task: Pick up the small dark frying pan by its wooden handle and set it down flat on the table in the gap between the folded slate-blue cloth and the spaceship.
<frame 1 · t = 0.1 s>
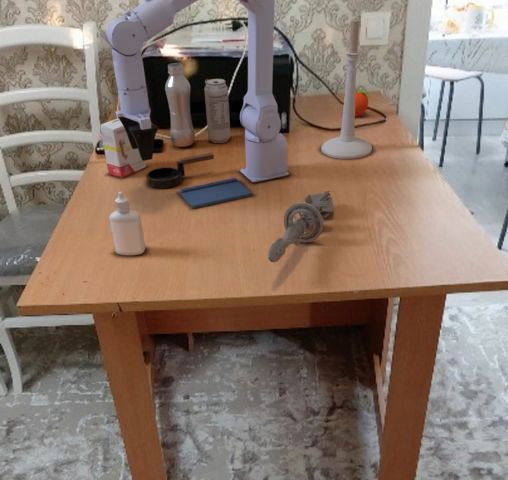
hand: (142, 153, 127), 10 cm above the table, tool pointing down, fingers open, 7 cm apart
plastic bottle: (183, 146, 159), on the table
ink box: (128, 171, 146), on the table
candlestick: (346, 150, 152), on the table
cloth: (215, 194, 133), on the table
pan: (164, 181, 140), on the table
eye dropper bottle: (131, 252, 114), on the table
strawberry: (357, 116, 173), on the table
energy drink can: (219, 140, 161), on the table
spaceship: (302, 242, 115), on the table
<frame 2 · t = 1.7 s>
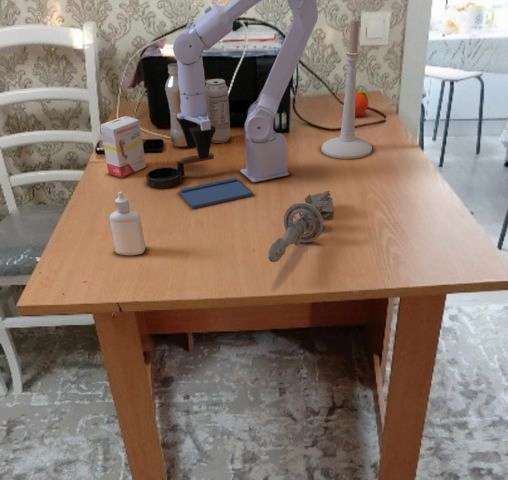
hand: (198, 152, 139), 5 cm above the table, tool pointing down, fingers open, 7 cm apart
nothing on the table moved.
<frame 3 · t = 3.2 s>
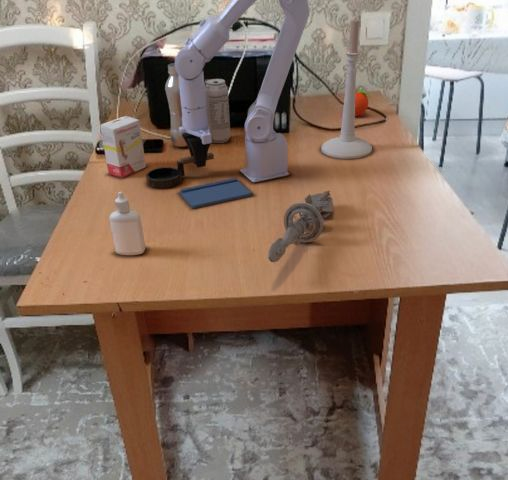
hand: (199, 164, 141), 2 cm above the table, tool pointing down, fingers closed on pan
pan: (164, 181, 140), on the table, touching gripper
everything else where it was.
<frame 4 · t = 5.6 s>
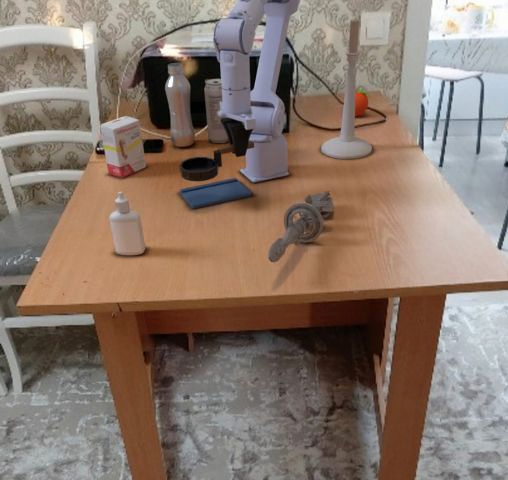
hand: (238, 154, 126), 9 cm above the table, tool pointing down, fingers closed on pan
pan: (199, 173, 125), point 7 cm above the table, touching gripper
everything else where it was.
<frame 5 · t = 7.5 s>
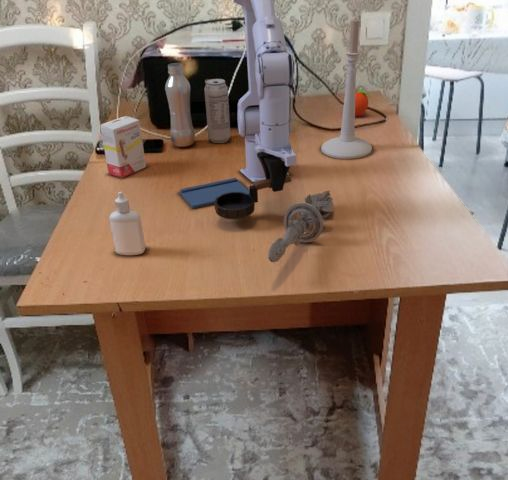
hand: (275, 188, 122), 5 cm above the table, tool pointing down, fingers closed on pan
pan: (235, 209, 121), point 3 cm above the table, touching gripper
everything else where it was.
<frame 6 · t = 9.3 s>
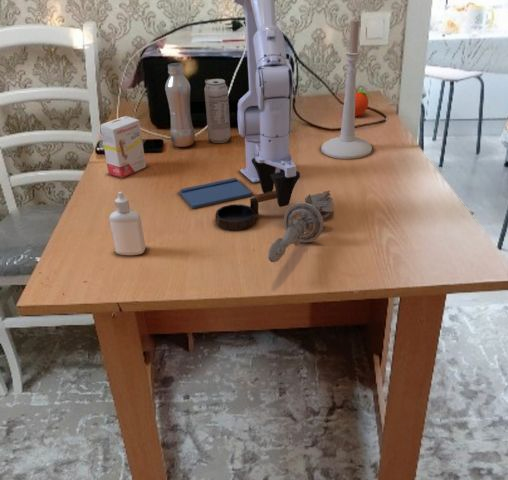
hand: (275, 198, 123), 3 cm above the table, tool pointing down, fingers open, 7 cm apart
pan: (235, 221, 122), on the table
everything else where it was.
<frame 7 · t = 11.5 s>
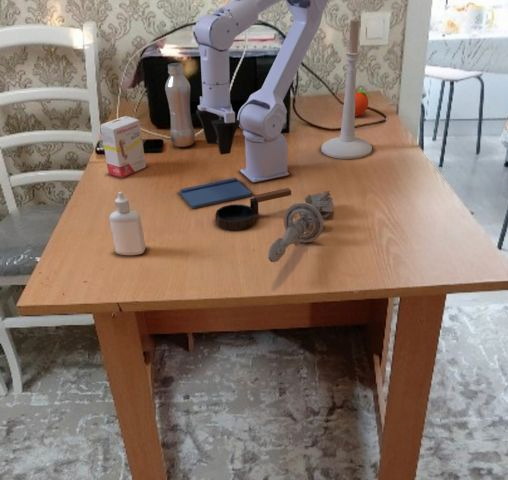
hand: (218, 148, 130), 9 cm above the table, tool pointing down, fingers open, 7 cm apart
nothing on the table moved.
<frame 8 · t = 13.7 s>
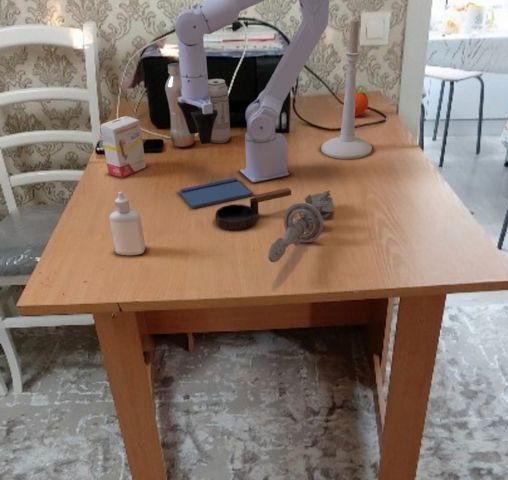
hand: (199, 138, 135), 9 cm above the table, tool pointing down, fingers open, 7 cm apart
nothing on the table moved.
at the end: pan inside the target area (0.2 cm from its centre), on the table; pan tilted 0°; the gripper is holding nothing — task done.
